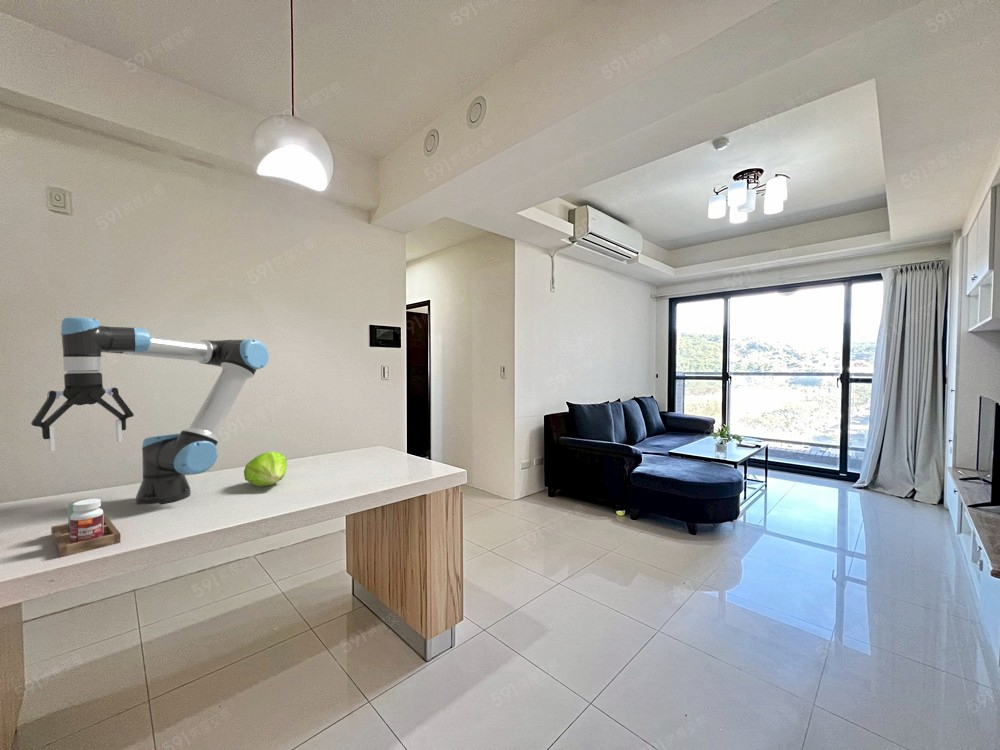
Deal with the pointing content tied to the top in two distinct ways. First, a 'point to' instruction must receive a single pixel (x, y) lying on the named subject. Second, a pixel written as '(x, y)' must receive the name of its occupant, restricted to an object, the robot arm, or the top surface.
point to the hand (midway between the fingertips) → (87, 445)
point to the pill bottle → (86, 521)
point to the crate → (66, 549)
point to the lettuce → (266, 469)
